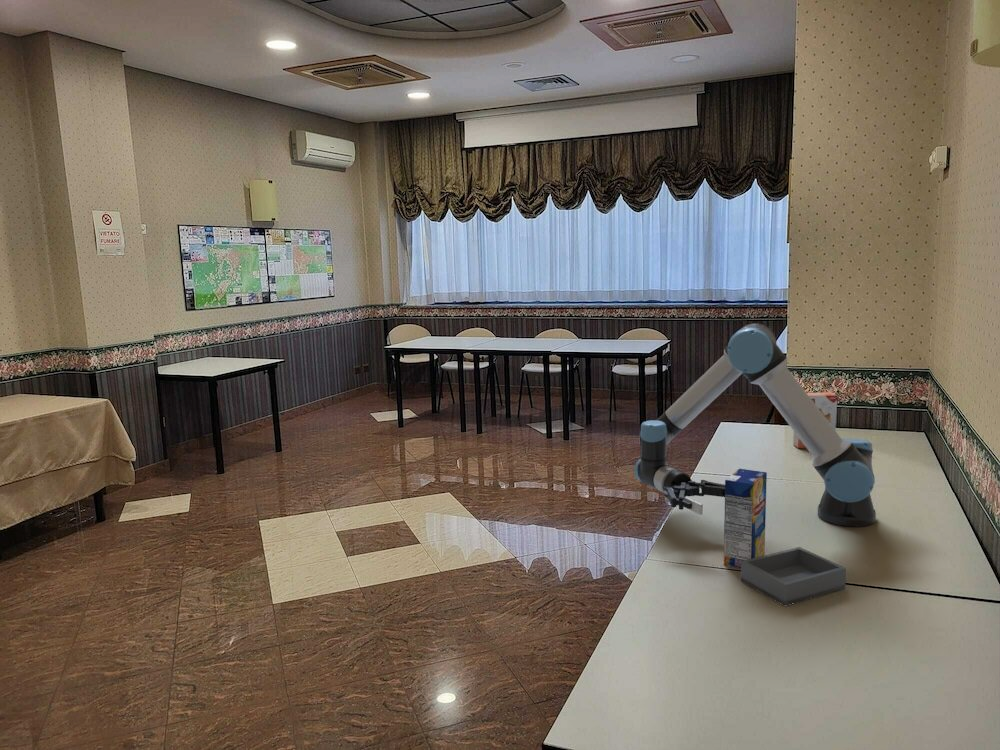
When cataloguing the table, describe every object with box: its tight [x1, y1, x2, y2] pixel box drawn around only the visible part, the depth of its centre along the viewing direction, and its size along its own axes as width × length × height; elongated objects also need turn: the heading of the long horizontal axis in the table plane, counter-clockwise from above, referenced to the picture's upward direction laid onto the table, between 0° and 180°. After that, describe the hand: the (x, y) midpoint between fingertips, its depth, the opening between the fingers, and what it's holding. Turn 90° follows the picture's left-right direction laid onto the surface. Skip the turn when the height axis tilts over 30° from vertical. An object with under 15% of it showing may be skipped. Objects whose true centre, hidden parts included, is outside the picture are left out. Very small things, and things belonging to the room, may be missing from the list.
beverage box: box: [723, 468, 768, 569], centre depth 186 cm, size 7×11×22 cm, turn 144°
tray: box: [740, 546, 847, 606], centre depth 173 cm, size 18×14×5 cm
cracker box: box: [792, 391, 838, 449], centre depth 284 cm, size 14×6×21 cm, turn 88°
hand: (722, 505), depth 193 cm, fingers open, 13 cm apart
